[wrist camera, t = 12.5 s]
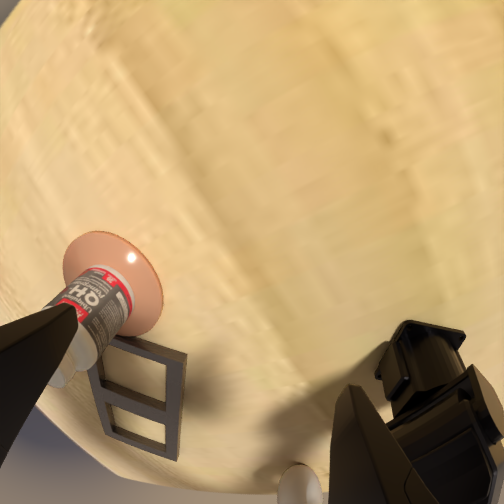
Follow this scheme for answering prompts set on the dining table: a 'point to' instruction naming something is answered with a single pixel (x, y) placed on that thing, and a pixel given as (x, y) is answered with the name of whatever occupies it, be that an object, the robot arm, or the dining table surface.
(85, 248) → the coaster
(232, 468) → the dining table surface
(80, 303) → the pill bottle
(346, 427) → the robot arm
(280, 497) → the donut
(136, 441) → the dark grey flat frame
